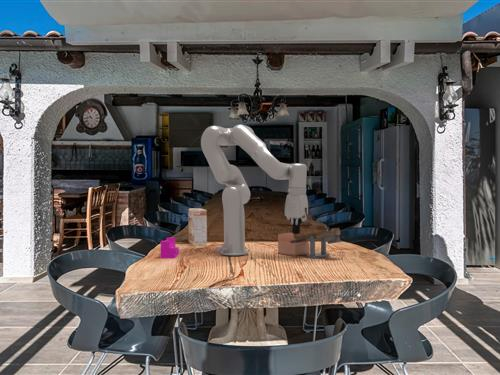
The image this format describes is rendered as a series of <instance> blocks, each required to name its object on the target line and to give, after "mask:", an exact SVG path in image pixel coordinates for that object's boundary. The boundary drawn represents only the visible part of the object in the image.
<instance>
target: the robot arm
mask: <svg viewBox="0 0 500 375" xmlns="http://www.w3.org/2000/svg"><path fill="white" fill-rule="evenodd" d="M221 146H224V147H227V146H239V147H240V148H241V149H242V150H243V151H245V152H246V154H248V155H249V156H250V158H252V160H253V161H254V162H255V163H256V164H257V165H258V166H259V168H260V169H261V170H263V172H264V173H266V174H267V175H268V176H269V177H270V178H272V179H274V180H280V181H281V180H282V181H284V180H285V181H286V180H288V188H287V192H288V194H287V195H286V199H285V202H284V203H285V204H284V216H285V217H286V220H288V221H290V224H291V226H292V229H291V230H292V232H291V233H293V234H294V235H299V234H301V225H302V223H303V222H307V220H308V215H309V202H308V195H307V175H308V174H307V171H308V170H307V169H308V168H307V165H306V164H305V163H286V162H285V163H284V162H280V160H278V159H277V158H276V157H275V156H274V155H273V154H272V153H271V152H270V151H269V150H268V148H267V145H266V143H265V142H264V141H263V140H262V139H260V137H258V136H257V135H256V134H255V132H254V130H253V129H252V128H251V127H250V126H247V125H244V124H240V123H239V124H236V125H234V127H223V126H220V125H219V126H218V125H211V126H207V128H205V130H204V131H203V133H202V134H201V138H200V147H201V151H202V152H203V155H204V157H205V158H206V161H207V163H208V165H209V168H210V170H211V172H212V175H214V179H215V180H216V182H217V183H218V184H221V185H225V186H226V187H225V188H224V189H223V191H222V195H221V200H222V201H221V202H222V208H223V244H222V245H221V246H217V247H215V251H216V252H220V254H221V255H224V256H244V255H248V254H249V251H248V250H246V247H245V246H246V245H245V244H246V239H245V238H246V236H245V235H246V234H245V233H246V232H245V230H246V229H245V228H246V224H245V223H246V222H245V220H246V219H245V207H244V205H245V204H247V203H248V202H249V201H250V199H251V191H250V188H249V186H248V184H247V181H246V180H245V178H244V175H243V173H242V172H241V170H240V169H239V168H238V167H237V166H236V165H234V164H230V162H229V161H228V159H227V157H226V153H224V151H223V149H222V148H221Z"/></svg>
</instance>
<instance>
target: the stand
mask: <svg viewBox="0 0 500 375" xmlns="http://www.w3.org/2000/svg"><path fill="white" fill-rule="evenodd" d="M309 243H310V254H305V256H306V259H311V260H318V259H324V258H327V257H328V258H329V257H330V256H331V255H330V254H331V253H327V237H326V238H321V239H320V252H316V240H315V236H310V241H309Z"/></svg>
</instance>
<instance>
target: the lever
mask: <svg viewBox="0 0 500 375" xmlns="http://www.w3.org/2000/svg"><path fill="white" fill-rule="evenodd" d="M340 235H342V234H341V229H340V228H339V227H334V228H333V227H332V228H330V230H329V229H328V230H322V231H318V232H314V233H310V234H305V235H300V236H295V237H294V239H295V240H293V241H290V243H299V242H306V241H308V242H310V236H315V241H317V240H321V238H326V243H327V244H335V243H341V238H340Z"/></svg>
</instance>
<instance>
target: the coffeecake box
mask: <svg viewBox="0 0 500 375" xmlns="http://www.w3.org/2000/svg"><path fill="white" fill-rule="evenodd" d="M187 211H188V212H187V213H188V216H187V217H188V218H187V219H188V243H189V244H191V245H192V246H193V247H200V246H203V247H204V246H206V247H207V245H208V227H207V224H208V223H207V222H208V217H207V213H208V211H207V209H204V208H196V207H195V208H188V210H187Z"/></svg>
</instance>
